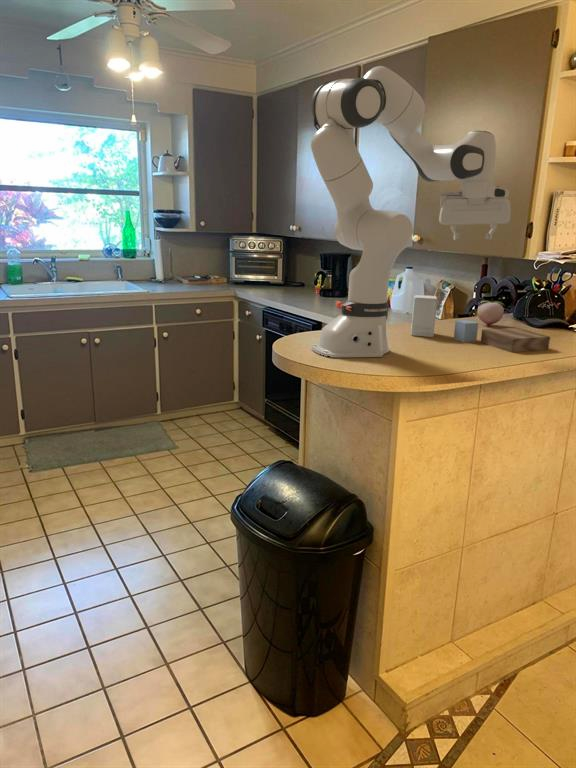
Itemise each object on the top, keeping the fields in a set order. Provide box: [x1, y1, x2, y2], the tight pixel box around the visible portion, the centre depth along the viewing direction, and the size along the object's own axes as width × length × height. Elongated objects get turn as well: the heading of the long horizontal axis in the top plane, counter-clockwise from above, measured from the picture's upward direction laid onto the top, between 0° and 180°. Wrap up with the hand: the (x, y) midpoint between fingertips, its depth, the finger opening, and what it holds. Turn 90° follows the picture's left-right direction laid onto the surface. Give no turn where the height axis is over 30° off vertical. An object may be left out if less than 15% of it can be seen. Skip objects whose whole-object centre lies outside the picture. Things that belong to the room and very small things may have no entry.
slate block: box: [453, 319, 479, 343], centre depth 185 cm, size 5×5×6 cm
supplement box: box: [410, 294, 438, 338], centre depth 190 cm, size 7×7×13 cm
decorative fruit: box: [477, 298, 506, 326], centre depth 209 cm, size 9×8×10 cm
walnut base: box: [480, 327, 551, 353], centre depth 178 cm, size 14×14×4 cm
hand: (472, 239), depth 173 cm, fingers open, 8 cm apart
